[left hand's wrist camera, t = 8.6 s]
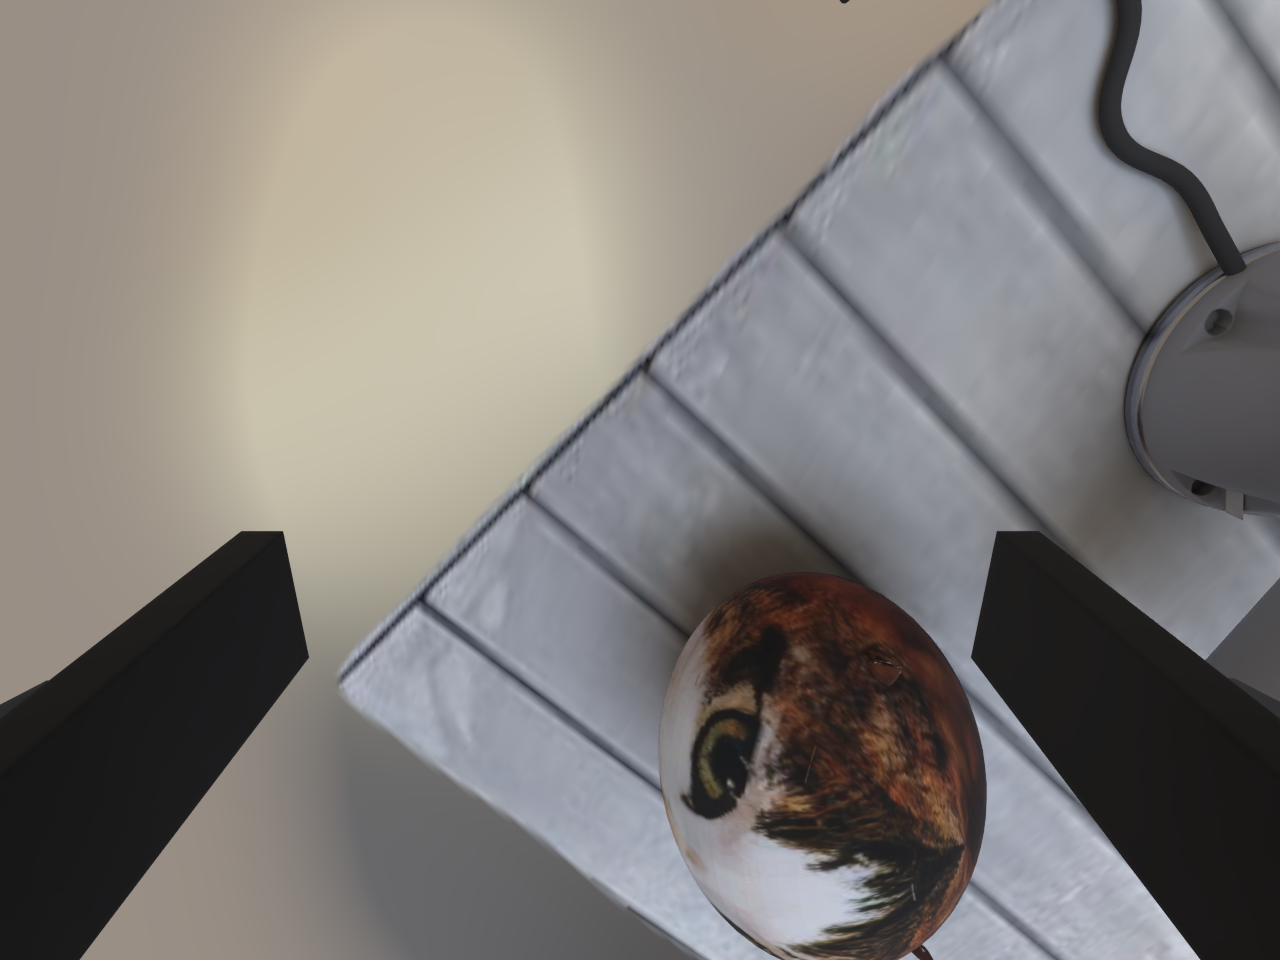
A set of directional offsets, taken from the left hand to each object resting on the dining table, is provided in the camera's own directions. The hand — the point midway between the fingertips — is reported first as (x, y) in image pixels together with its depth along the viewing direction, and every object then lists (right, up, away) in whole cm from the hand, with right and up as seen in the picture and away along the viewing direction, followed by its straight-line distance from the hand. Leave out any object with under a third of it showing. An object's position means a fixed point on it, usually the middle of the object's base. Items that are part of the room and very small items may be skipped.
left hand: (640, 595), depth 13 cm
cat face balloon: (+10, -11, +34) cm, 37 cm away
